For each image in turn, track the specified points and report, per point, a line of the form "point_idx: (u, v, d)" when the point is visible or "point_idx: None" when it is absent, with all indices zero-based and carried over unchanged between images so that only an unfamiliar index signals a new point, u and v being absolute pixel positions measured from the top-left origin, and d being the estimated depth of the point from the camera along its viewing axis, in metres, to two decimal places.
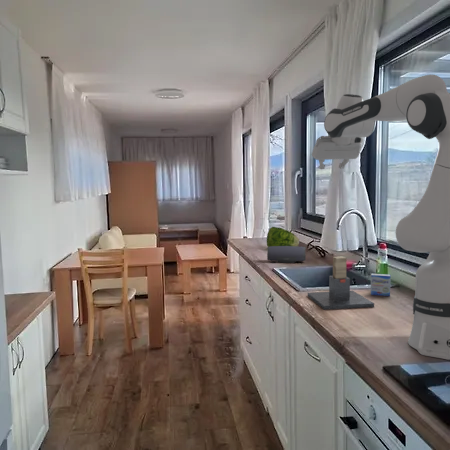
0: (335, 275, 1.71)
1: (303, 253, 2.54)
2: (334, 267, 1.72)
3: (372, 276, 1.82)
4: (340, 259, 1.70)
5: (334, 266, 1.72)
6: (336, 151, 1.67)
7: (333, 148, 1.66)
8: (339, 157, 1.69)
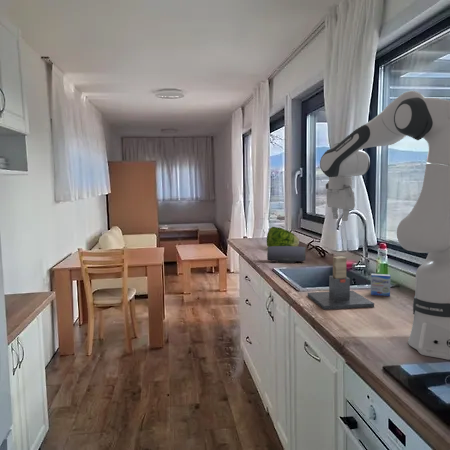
0: (335, 275, 1.71)
1: (303, 253, 2.54)
2: (334, 267, 1.72)
3: (372, 276, 1.82)
4: (340, 259, 1.70)
5: (334, 266, 1.72)
6: None
7: None
8: None
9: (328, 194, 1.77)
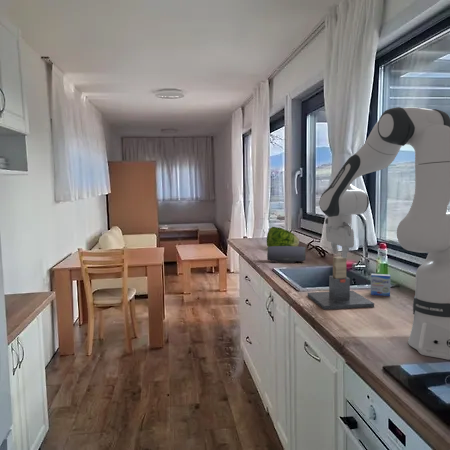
0: (335, 275, 1.71)
1: (303, 253, 2.54)
2: (334, 267, 1.72)
3: (372, 276, 1.82)
4: (340, 259, 1.70)
5: (334, 266, 1.72)
6: None
7: None
8: None
9: (328, 229, 1.78)
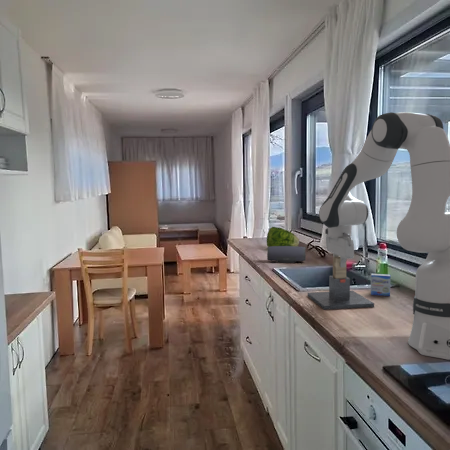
0: (335, 275, 1.71)
1: (303, 253, 2.54)
2: (334, 267, 1.72)
3: (372, 276, 1.82)
4: (340, 259, 1.70)
5: (334, 266, 1.72)
6: None
7: None
8: None
9: (328, 239, 1.78)
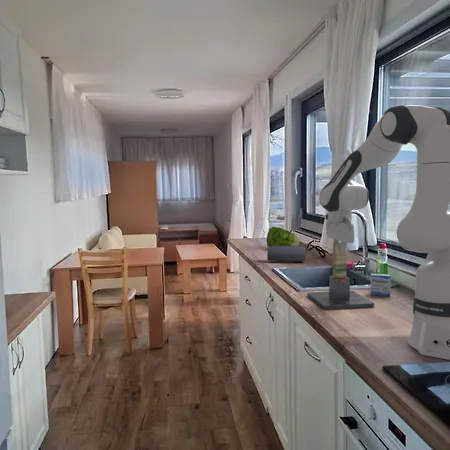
0: (335, 260, 1.71)
1: (303, 253, 2.54)
2: (334, 252, 1.71)
3: (372, 276, 1.82)
4: (340, 244, 1.69)
5: (334, 251, 1.72)
6: None
7: None
8: None
9: (328, 225, 1.78)
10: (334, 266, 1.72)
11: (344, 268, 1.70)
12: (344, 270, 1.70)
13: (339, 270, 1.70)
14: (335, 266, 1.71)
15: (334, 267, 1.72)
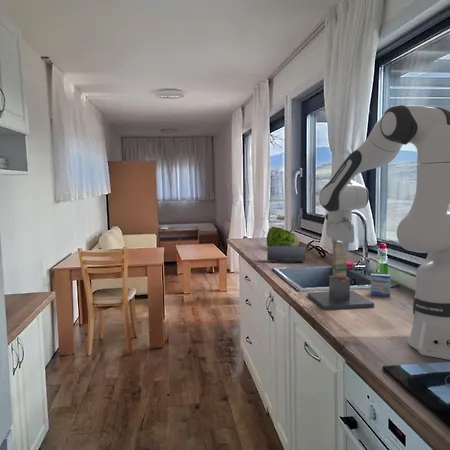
0: (335, 260, 1.71)
1: (303, 253, 2.54)
2: (334, 252, 1.71)
3: (372, 276, 1.82)
4: (340, 244, 1.69)
5: (334, 251, 1.72)
6: None
7: None
8: None
9: (328, 224, 1.78)
10: (334, 266, 1.72)
11: (344, 268, 1.70)
12: (344, 270, 1.70)
13: (339, 270, 1.70)
14: (335, 266, 1.71)
15: (334, 267, 1.72)
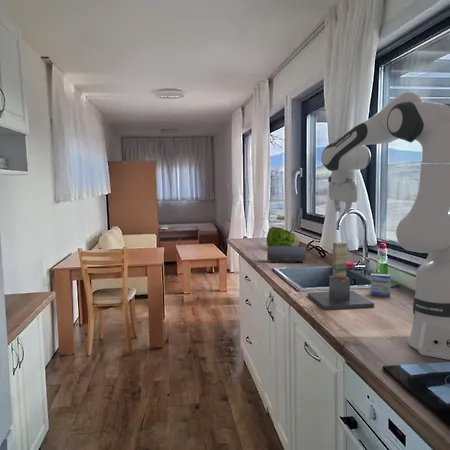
0: (335, 260, 1.71)
1: (303, 253, 2.54)
2: (334, 252, 1.71)
3: (372, 276, 1.82)
4: (340, 244, 1.69)
5: (334, 251, 1.72)
6: None
7: None
8: None
9: (330, 187, 1.81)
10: (334, 266, 1.72)
11: (344, 268, 1.70)
12: (344, 270, 1.70)
13: (339, 270, 1.70)
14: (335, 266, 1.71)
15: (334, 267, 1.72)
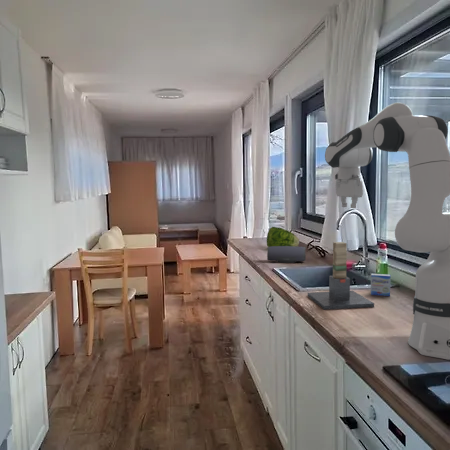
0: (335, 260, 1.71)
1: (303, 253, 2.54)
2: (334, 252, 1.71)
3: (372, 276, 1.82)
4: (340, 244, 1.69)
5: (334, 251, 1.72)
6: None
7: None
8: None
9: (337, 184, 1.90)
10: (334, 266, 1.72)
11: (344, 268, 1.70)
12: (344, 270, 1.70)
13: (339, 270, 1.70)
14: (335, 266, 1.71)
15: (334, 267, 1.72)
